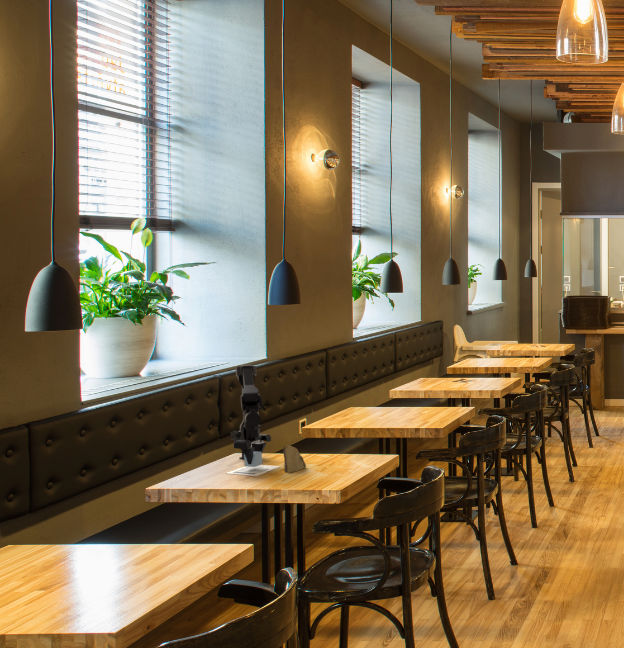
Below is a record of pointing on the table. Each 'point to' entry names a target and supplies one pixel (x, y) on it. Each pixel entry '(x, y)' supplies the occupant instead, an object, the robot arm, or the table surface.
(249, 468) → the letter
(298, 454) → the rock
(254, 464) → the cube
